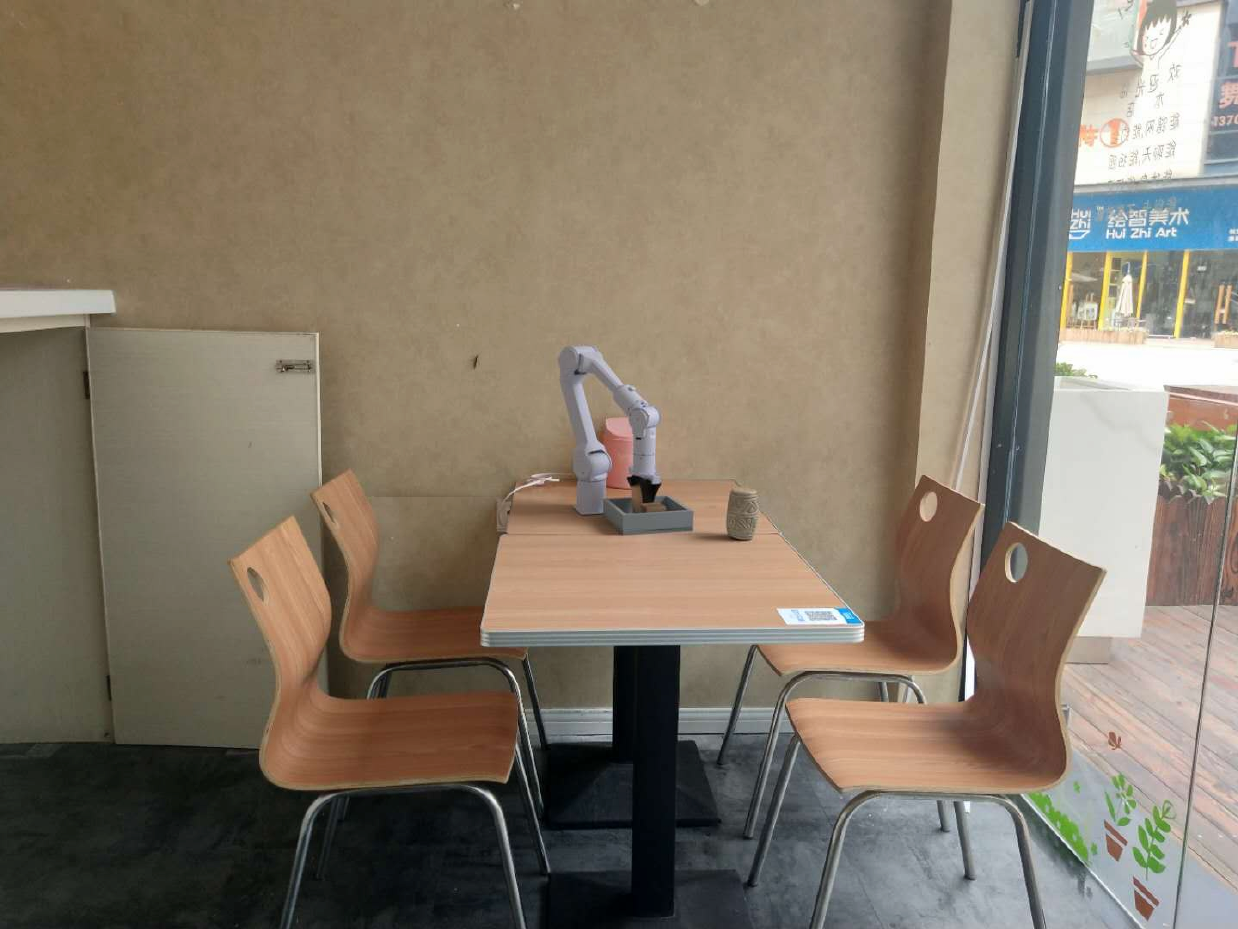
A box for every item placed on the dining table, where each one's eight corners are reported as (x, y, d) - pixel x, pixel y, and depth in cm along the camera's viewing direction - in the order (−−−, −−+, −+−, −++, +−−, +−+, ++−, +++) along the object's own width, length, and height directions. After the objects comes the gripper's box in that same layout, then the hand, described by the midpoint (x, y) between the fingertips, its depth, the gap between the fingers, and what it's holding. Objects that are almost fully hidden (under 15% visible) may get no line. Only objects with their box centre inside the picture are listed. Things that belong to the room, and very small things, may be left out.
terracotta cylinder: (629, 512, 233) (627, 486, 231) (646, 509, 235) (645, 483, 233) (637, 517, 228) (636, 490, 226) (655, 513, 230) (653, 487, 228)
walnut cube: (640, 523, 226) (640, 503, 225) (659, 521, 227) (659, 502, 226) (646, 528, 221) (647, 508, 220) (665, 526, 222) (666, 507, 221)
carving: (758, 541, 214) (760, 492, 212) (726, 541, 214) (728, 491, 212) (755, 534, 220) (757, 486, 218) (724, 534, 220) (726, 486, 218)
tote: (602, 517, 235) (603, 498, 234) (668, 513, 240) (668, 494, 239) (623, 535, 218) (623, 515, 217) (692, 530, 223) (693, 510, 222)
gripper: (618, 450, 233) (617, 501, 236) (642, 459, 220) (641, 513, 223) (642, 448, 236) (641, 499, 239) (668, 458, 223) (666, 511, 226)
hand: (643, 506), depth 231 cm, fingers closed on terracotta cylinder, 5 cm apart
